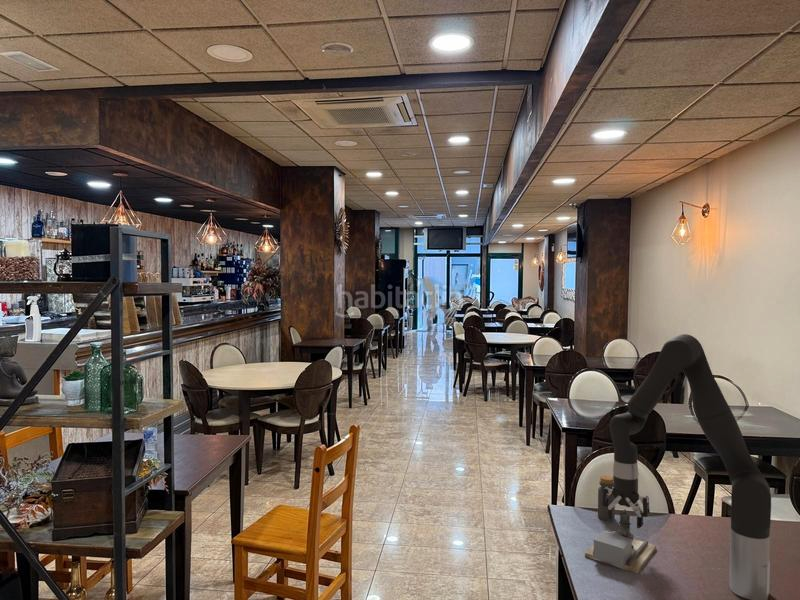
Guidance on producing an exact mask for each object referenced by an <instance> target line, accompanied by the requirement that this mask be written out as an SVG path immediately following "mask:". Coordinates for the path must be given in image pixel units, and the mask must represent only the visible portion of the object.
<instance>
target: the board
mask: <svg viewBox="0 0 800 600" xmlns="http://www.w3.org/2000/svg"><path fill="white" fill-rule="evenodd" d="M605 532H608V533H612V534H615V532H616V531H615V530H613V531H612V532H611V531H607V530H606V531H605ZM632 545H633V548H632V557H631V558H630V559H629V560H628V562H627V563H626V564H625V566H624V567H621V566H618V565H615V564H612V563H609V562H606V561H603V560H600V559H597V558H594V557H593V555H594V543H593V544H592V545H591V546H590V547H588V549H587V550H586V551H585V552H584V557H585V558H589V559H592V560H595V561H597V562H601V563H605V564H608V565H610V566H613V567H615V568H619V569H621V570H625V571H628V572H631V573H635V574H638V573H639V572H640V571H641V570H642V569H643V567H644V566H645V564H646V563H647V562H648V560H649V559H650V558H651V556H652V555H653V554H654V552H655V551H656V550H657V545H655V544H652V543H649V540H647V539H645V540H644V541H641V540H637V539H635V538H633V541H632Z"/></svg>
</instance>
